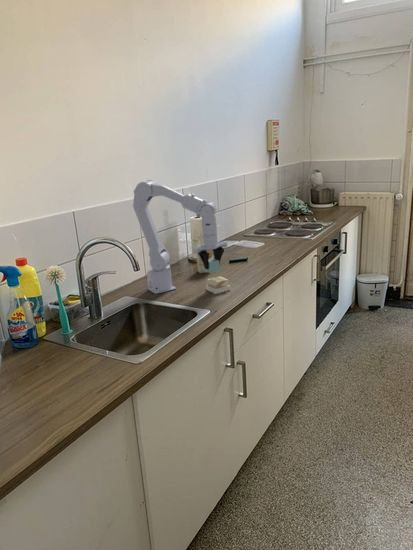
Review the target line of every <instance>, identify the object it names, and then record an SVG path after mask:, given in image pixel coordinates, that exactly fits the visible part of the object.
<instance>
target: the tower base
mask: <svg viewBox="0 0 413 550" xmlns="http://www.w3.org/2000/svg"><path fill="white" fill-rule="evenodd" d="M205 287H206V291H209V292H210V293H213V294H215V295H218V294H221V292H222V293H225V292H229V291H231V285H230V284H228V286H225V287H221V288H217V289H215V288H212V287H210V286H208V284H206V285H205ZM228 290H229V291H228ZM224 291H225V292H224ZM217 293H218V294H217Z"/></svg>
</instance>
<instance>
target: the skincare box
mask: <svg viewBox="0 0 413 550" xmlns="http://www.w3.org/2000/svg"><path fill="white" fill-rule="evenodd" d="M201 245H202V244H201ZM201 245H196V247H198V246H201ZM206 252H207V253H209V259H212V258H213V256H212V255H213V253H212V252H213V250H208V251H206ZM196 262H197V263H196V264H197V272H198V273H199V274H203V273H207V272H206V271H205V269H204V264H203V261H202V259H201V257H200V256H199V254H198V253H196Z"/></svg>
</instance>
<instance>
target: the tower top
mask: <svg viewBox="0 0 413 550" xmlns="http://www.w3.org/2000/svg"><path fill="white" fill-rule="evenodd" d="M207 285H208V286H210V287H212V288H215V289H217V288H221V287H225V286H228V285H229V279H227V278H225V277H223V276H220V275H219V276H215V277H212V278H211V277H210V278H207Z"/></svg>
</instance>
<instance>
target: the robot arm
mask: <svg viewBox="0 0 413 550" xmlns="http://www.w3.org/2000/svg"><path fill="white" fill-rule="evenodd" d="M161 196H162V197H164V198H167V199H171V200H172V201H175V202H178V203H180V204H181V206H182V208H183V209H186V210H187V211H190V212H193V213H195V214H197V215H199V216H200V217H201V230H202V231H201V232H202V233H201V235H202V244H201V246H200V245H197V246H198V247H197V246H195V247H193V253H194V254H197V253H198V254H199V256H200V257H201V259H202V261H203V264H204V267H205V269H209V253H207V252H206V251H208V250H212V252H213V253H212V254H213V258H214V259H217V260H219V266H220V264H221V259H222V257H223V254H224V252H225V248H228V242H227V241H221V242H218V241H219V240H218V228H217V218H216V216H217V215H216V213H217V206H216V205H215V204H214V203H213V202H212V201H207V199H201V198H199V197H198V196H196V194H195V193H191V194H190V193H188V194H182V193H180V192H178V191H177V190H174V189H173V188H171V187H169V186H167V185H165V184H163V183H161V182H158V181H154V180H152V179H149V180H146V181H141V182H139V183H137V184H136V187H135V188H134V190H133V203H132V207H133V210H134V214H135V215H136V218H137V220H138V223H139V225H140V228H141V231H142V232H143V233H142V234H143V236H144V237H145V241H146V243H147V246H148V248H149V250H148V256H149V258H150V259H149V264H150V267H151V268H152V269H151V270H148V271H147V273H146V279H147V287H148V288H147V290H149V292H151V293H152V294H155V295H156V294H160V293H161V294H162V293H165V292H169V291H173V290H174V291H175V290H176V289H177V287H176V286H173V283H172V272H171V265H170V262H171V259H172V256H171V253H170V252H169V251H168V250H167V248H166V246H165V245H164V244H163V243H162V241H161V237H160V236H159V234H158V231H157V228H156V225H155V223H154V221H153V218H152V215H151V213H150V210H149V208H148V207H149V205H150V202H151V200H152V198H154V197H161Z"/></svg>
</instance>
